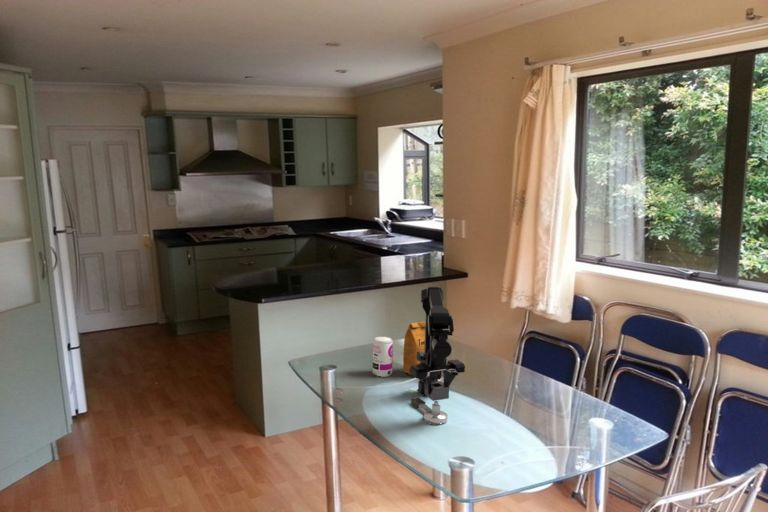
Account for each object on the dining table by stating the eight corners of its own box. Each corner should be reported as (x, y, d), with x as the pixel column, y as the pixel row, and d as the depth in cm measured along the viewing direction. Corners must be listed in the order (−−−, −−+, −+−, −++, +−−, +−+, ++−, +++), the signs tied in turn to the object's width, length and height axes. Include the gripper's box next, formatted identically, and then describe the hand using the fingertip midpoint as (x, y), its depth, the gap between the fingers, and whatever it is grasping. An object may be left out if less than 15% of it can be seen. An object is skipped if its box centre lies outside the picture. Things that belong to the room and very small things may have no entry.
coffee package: (438, 374, 245) (440, 322, 242) (413, 379, 239) (415, 326, 236) (424, 367, 254) (426, 317, 250) (400, 371, 247) (401, 320, 244)
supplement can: (394, 372, 246) (395, 337, 244) (388, 378, 239) (389, 342, 236) (376, 369, 249) (377, 335, 247) (369, 375, 241) (370, 340, 239)
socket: (439, 392, 204) (440, 380, 203) (448, 398, 198) (449, 387, 198) (424, 394, 201) (424, 383, 201) (433, 400, 196) (433, 389, 195)
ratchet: (424, 401, 217) (425, 384, 216) (451, 422, 199) (452, 404, 198) (405, 404, 213) (405, 387, 212) (430, 426, 196) (431, 407, 195)
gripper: (450, 339, 208) (448, 381, 211) (402, 344, 201) (401, 388, 203) (467, 348, 198) (465, 392, 201) (417, 354, 191) (416, 400, 193)
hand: (436, 392), depth 200 cm, fingers closed on socket, 6 cm apart
